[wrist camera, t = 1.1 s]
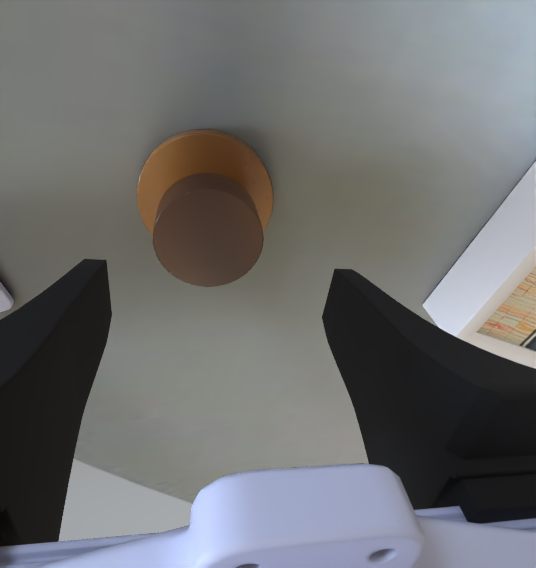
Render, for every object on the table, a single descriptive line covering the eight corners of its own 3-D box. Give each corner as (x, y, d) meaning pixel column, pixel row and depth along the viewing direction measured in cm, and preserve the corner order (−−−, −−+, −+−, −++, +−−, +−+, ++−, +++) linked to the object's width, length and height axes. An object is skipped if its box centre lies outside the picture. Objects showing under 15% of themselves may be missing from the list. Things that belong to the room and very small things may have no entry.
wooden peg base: (167, 267, 23) (164, 297, 20) (115, 150, 19) (103, 171, 16) (282, 235, 23) (293, 262, 20) (253, 111, 19) (262, 126, 16)
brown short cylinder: (177, 274, 20) (176, 298, 18) (139, 188, 17) (134, 207, 15) (267, 249, 20) (273, 271, 18) (243, 159, 17) (248, 175, 15)
